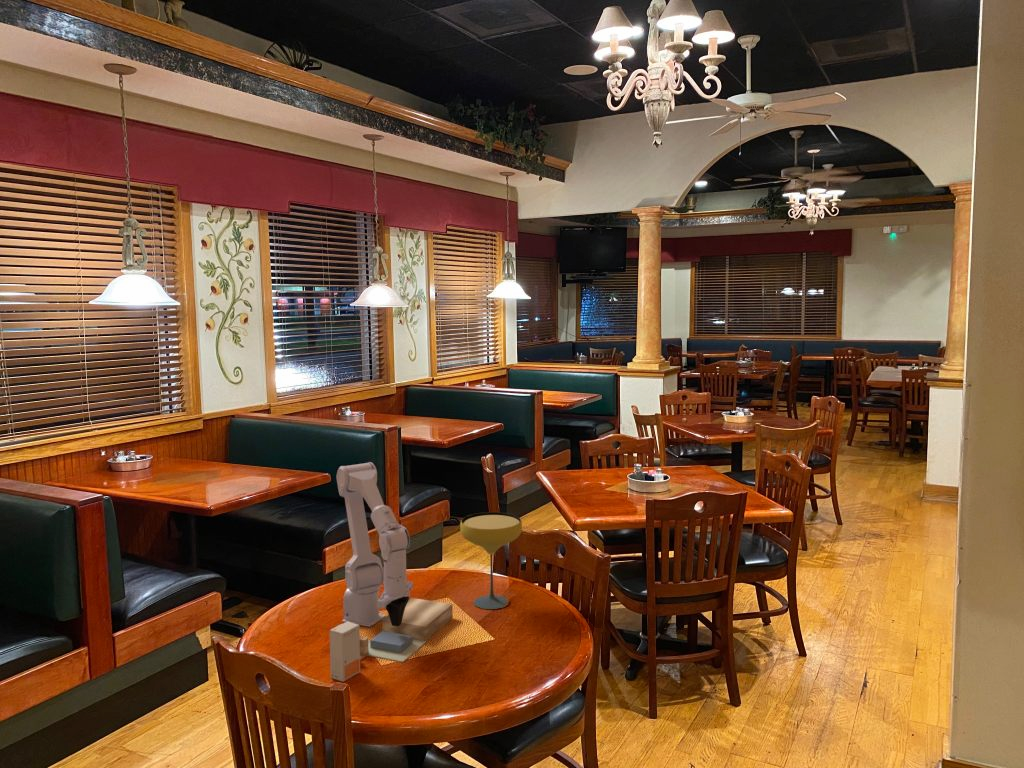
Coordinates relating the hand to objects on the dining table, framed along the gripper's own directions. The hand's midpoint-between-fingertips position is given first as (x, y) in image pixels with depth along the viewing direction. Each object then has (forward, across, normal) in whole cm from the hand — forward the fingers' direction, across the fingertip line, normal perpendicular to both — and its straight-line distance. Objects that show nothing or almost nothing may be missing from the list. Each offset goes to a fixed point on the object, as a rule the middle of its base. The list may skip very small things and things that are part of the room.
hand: (396, 624), depth 199 cm
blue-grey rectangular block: (+3, -2, 0) cm, 4 cm away
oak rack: (+5, -11, +6) cm, 13 cm away
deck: (+5, +12, 0) cm, 13 cm away
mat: (+5, -3, 0) cm, 6 cm away
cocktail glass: (+5, +34, -12) cm, 36 cm away
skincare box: (+5, -20, +2) cm, 20 cm away
